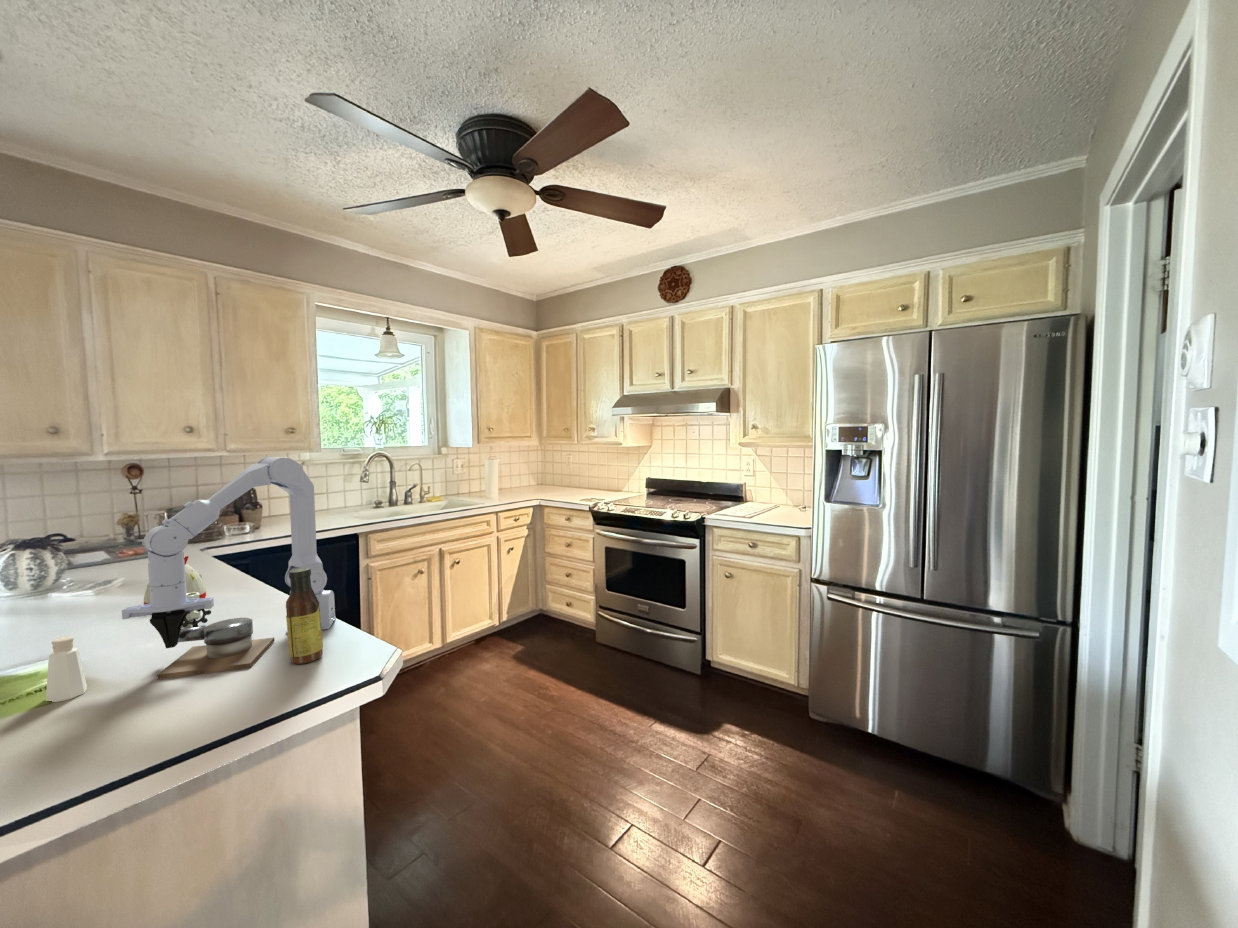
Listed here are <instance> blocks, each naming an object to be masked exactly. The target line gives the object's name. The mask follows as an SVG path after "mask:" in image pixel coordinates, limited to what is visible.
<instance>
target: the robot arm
mask: <svg viewBox="0 0 1238 928" xmlns="http://www.w3.org/2000/svg"><path fill="white" fill-rule="evenodd" d="M270 485H274V486H277V487H279V488H280V489H282V490H283V491H284V492H286V493H288V494H289V511H290V513H289V514H290V516H289V517H290V535H291V536H290V537H291V554H292V555H291V557H290V559H289V560H288V568H287V570H286V572H285V576H284V582H285V584H286V585H287V586H288V587H290V588H291V582H290V578H289V571H290V570H293V569H297V568H310V569H311V575H310V578H311V587H312V589H313V591H314V593H315V595H316V597H317V599H318V601H319V605H320V617H321V630H329V629H330V627H331V626H332V625H333V623H334V622H335V620H336V619H337V617H336V609H335V608H336V606H335V605H336V604H335V593H334V591H333V590H330V589H329V590H327V589H326V590H325V589H324V588H325V587H326V585H327V581H328V577H327V573H326V572H325V570H324V566H323V562H322V560H321V558H320V557H319V556H318V553H317V530H316V527H317V526H316V505H315V504H316V502H315V499H316V498H315V486H314V483H313V481H312V480H311V479H310V477H309V476H308V475H307V473H306V471H304V467H303V464H301V463H299V462H297V461H296V460H295V459H292V458H290V457H276V456H275V457H274V456H266V457H263V458H261V459H259V461H257V462H256V463H253V464H250V465H249V466H248V467H247V468H246V469H244V470H243V471H242V472H241V473H239V474H238V475H236V476H235V477H234V478H233V479H232V480H230V481H229V482H227V484H225V485H224V486H223V487H221V488H220V489H219V490H218V491H216V492H215V493H214V494H212V496H210V497H209V498H207V499H196V500H194V501H193V502H192V501H187V502H186V503H184V504H183V507H184V508H183V509H181V511H179V512H177V513H176V514H174V515H173V516H172V517H171V518H169V519H168V518H165V519H163V520H162V521H161V523H162V524H163V525H159V526H155V527H153V528H151V529H149V530H148V531H147V532H146V534H145V536H144V537H143V540H141V541H142V542H141V543H142V546H143V547H144V549H146V550H147V551H148V552H147V560H148V563H147V571H148V572H147V573H148V583H149V589H150V604H145V605H144V604H140V605H133V606H127V607H125V608H123V609H122V610H121V618H122V620H128V619H131V618H136V617H144V616H146V617H147V616H151V617H150V619H149V623H150V624H151V626H153V627H154V628H155V630H156V631H157V633H158V634H159V635H160V637H161V639H162V641H164V642H163V644H164V647H165V649H170V648H175V647H176V646H177V645H178V644H179V642H178V638H179V634H180V630H181V629H182V628H183V626H182V625H183V623H184V622H185V621H184V620H185V618H186V616H187V614H188V612H189V610H196V609H204V610H211V609H212V608H213V607H214V606H215V603H214V597H205V598H194V599H187V593H186V578H185V561H184V558H185V556H184V557H183V553H184V550H185V549H186V548H187V546H188V543H189V540H191V539H193V538H195V537H196V536H197V535H198V534H199V533H200V534H201V532H203V531H204V530H205V529H206V528H208V527H209V526H210V525H212V524H213V523H214V522H215V521H217V520H218V519H219V518H220V513H221V512H220V511H221V510H222V509H223V508H225V507H226V506H228V505H229V504H231V503H232V502H234V501H235V500H237V499H238V498H240V497H241V496H243V495H244V494H245V493H247V492H248V491H250V490H252V488H256V487H264V486H270ZM290 593H291V590H290V591H289V594H290ZM331 618H333V619H335V620H333V619H331ZM333 621H334V622H333ZM285 634H288V631H287V630H285Z"/></svg>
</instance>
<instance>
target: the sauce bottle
mask: <svg viewBox="0 0 1238 928" xmlns="http://www.w3.org/2000/svg"><path fill="white" fill-rule="evenodd" d="M310 575H311V569H310V568H297V569H293V570H290V571H289V578H290V582H291V587H290V591H291V593H290V592H289V596H288V598H287V599H286V601H285V610H286V616H285V618H286V628H287V629H286V631H288V633H287V641H288V652H289V656H290V657H289V660H290V662H291V663H292V664H295V665H303V664H308V663H311V662H312V663H313V662H314V661H316V660H319V659H320V658H322V656H323V651H324V650H323V648H324V646H323V645H324V644H323V631H322V630H321V617H320V605H319V601H318V599H317V597H316V595H315V593H314V591H313V589H312V587H311V578H310Z"/></svg>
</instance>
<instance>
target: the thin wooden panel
mask: <svg viewBox="0 0 1238 928" xmlns="http://www.w3.org/2000/svg"><path fill="white" fill-rule="evenodd" d="M252 635H253V634H252ZM252 635H251V636H249V637H247V638H245V639H243V640H240V641H237V642H233V643H228V644H223V645H207V644H203V645H195V646H191V648H189V649H188V650H186V652H184V653H183V654H181V655H180V656H179V657H178V658H176V659H175V660H174V661H173V662H171V663H170V664H169V665H168V666H166V667H165V668H164V669H163V670H161V671H160V672H159V673H157V674H156V677H157V680H164V679H173V678H181V677H189V676H196V675H204V674H211V673H219V672H227V671H228V672H230V671H234V670H235V671H236V670H244V669H251V668H252V667H253V666H254V665H255V664H254V663H256V662H258V660H259V659H260V658H261V657H262V656H263V655H264V654H265V653H266V652H267V650H269V648H270V647H271V646H272V645H273V644H274V643H275V642H274V641H275V637H267V638H257V639H253V637H252ZM273 642H274V643H273ZM272 643H273V644H272ZM271 644H272V645H271ZM270 645H271V646H270ZM269 646H270V647H269ZM264 652H265V653H264ZM263 653H264V654H263ZM262 654H263V655H262ZM261 655H262V656H261ZM259 657H260V658H259ZM253 664H254V665H253Z"/></svg>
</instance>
